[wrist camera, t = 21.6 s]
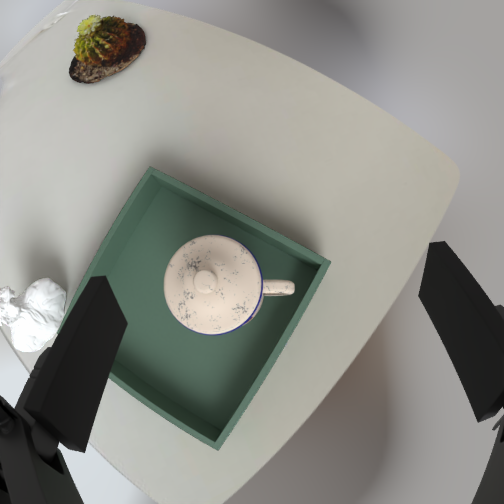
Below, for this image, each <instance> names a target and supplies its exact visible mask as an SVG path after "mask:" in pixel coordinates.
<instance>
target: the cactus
mask: <svg viewBox="0 0 504 504" xmlns="http://www.w3.org/2000/svg"><path fill="white" fill-rule="evenodd" d="M114 16H115V15H114ZM114 16H113V17H110V16H108V17H107V18H106V17H105V18H104V17H103V18H102V20H101V18H100V16H98V15H97V16H96V15H91V16H89V18H87V20H86V19H85V20H82V23H80V25H79V26H78V30H77V32H80V33H79V35H78V37H79V38H77V39H76V40H77V41H76V43H75V45H74V46H75V48H74V50H73V51H74V52H75V54H76V55H75V56H74V58H73V60H72V62H71V66H70V68H69V74H70V77H71V78H72V79H73V80H74V81H77V82H79V83H81V82H84V83H86V84H87V83H88V84H89V83H94V82H99V81H100V80H101V79H103V78H105V77H107V76H111V75H113V74H115V73H117V72H119V71H121V70H123V69H124V68H125V67H127V66H128V65H129V64H130V63H131V62H132V61H134V60H135V59H136V58H137V57H138V55H139V54H140V53H141V50H142V49H144V45H145V44H146V39H145V33H144V31H143V30H142V28H141V27H139V26H138V25H137V24H136V25H135V24H133V23H126V22H124V19H122V20H121V18H119V17H118V18H117V17H114Z"/></svg>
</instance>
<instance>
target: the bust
mask: <svg viewBox="0 0 504 504" xmlns="http://www.w3.org/2000/svg"><path fill="white" fill-rule="evenodd" d="M14 292H15V291H13V290H11V289H10V287H9V286H7V287H4V288H1V289H0V326H2V322H3V323H5V324H6V325H7V326H10V327H11V338H12V343H13V345H14V346H15V348H16V349H17V350H21V351H22V352H27V351H28V352H35V351H37V350H39V349H41V348H42V347H43V345H44V344H45V343H46V342H47V341H48V340H50V339H51V338H53V337H54V335H55V333H56V332H57V330H58V329H59V327H60V324H61V320H62V319H63V317H64V305H65V300H66V292H65V291H64V290H63V289H62V288H61V287H60V286H59V285H58V284H57V283H55V282H53V281H52V280H51V279H50V278H41V279H39V280H37V281H35V282H33V283H32V284H31V285H30V286H28V288H27V289H25V291H24V292H23V293H22V294H20V295H19V296H18V297H17V298H13V297H14Z"/></svg>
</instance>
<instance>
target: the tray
mask: <svg viewBox="0 0 504 504" xmlns="http://www.w3.org/2000/svg"><path fill="white" fill-rule="evenodd" d="M205 235H223V236H227V237H230V238H233V239H235V240H237V241H239V242H240V243H242V244H243V245H245V246H246V247H247V248H248V249H249V250H250V251H251V252H252V254H253V255H254V256H255V258H256V260H257V261H258V264H259V266H260V269H261V272H262V277H263V280H288V281H292V282H293V283H294V286H295V290H294V293H293V294H290V295H283V296H264V298H263V302H262V305H261V307H260V309H259V311H258V313H257V314H256V315H255V317H254V318H253V319H252V320H250V321H249V322H248V323H246V324H245V325H243V326H241V327H240V328H238V329H236V330H234V331H232V332H230V333H227V334H222V335H203V334H199V333H196V332H194V331H191V330H190V329H188V328H186V327H185V326H183V325H182V324H181V323H180V322H179V321H178V320H177V319H176V318H175V317H174V316H173V314H172V313H171V311H170V309H169V307H168V305H167V302H166V299H165V294H164V276H165V272H166V269H167V266H168V264H169V262H170V260H171V258H172V257H173V255H174V254H175V253H176V252H177V251H178V249H180V248H181V247H182V246H183V245H184V244H186V243H187V242H189V241H191V240H193V239H195V238H198V237H201V236H205ZM330 264H331V261H329V260H327V259H326V258H325V259H324V257H322V256H320V255H318V254H316V253H315V252H313V251H311V250H309V249H307V248H305V247H304V246H302V245H300V244H298V243H296V242H294V241H293V240H291V239H289V238H287V237H285V236H283V235H281V234H280V233H278V232H276V231H274V230H272V229H270V228H268V227H266V226H265V225H263V224H261V223H259V222H257V221H255V220H253V219H251V218H250V217H248V216H246V215H244V214H242V213H240V212H238V211H236V210H234V209H232V208H231V207H229V206H227V205H225V204H223V203H221V202H219V201H217V200H215V199H213V198H211V197H209V196H207V195H205V194H204V193H202V192H200V191H198V190H196V189H194V188H192V187H190V186H188V185H186V184H184V183H182V182H180V181H178V180H176V179H174V178H172V177H170V176H168V175H166V174H164V173H162V172H160V171H158V170H156V169H154V168H152V167H149V168H148V170H147V171H146V173H145V174H144V176H143V177H142V179H141V180H140V182H139V183H138V185H137V186H136V188H135V190H134V191H133V193H132V194H131V196H130V197H129V199H128V201H127V202H126V204H125V205H124V207H123V209H122V210H121V212H120V214H119V215H118V217H117V219H116V220H115V222H114V224H113V225H112V227H111V229H110V230H109V232H108V234H107V236H106V237H105V239H104V241H103V243H102V244H101V246H100V248H99V250H98V252H97V253H96V255H95V257H94V259H93V261H92V262H91V264H90V266H89V268H88V270H87V272H86V274H85V276H84V278H83V280H82V282H81V283H80V285H79V287H78V289H77V291H76V293H75V295H74V297H73V300H72V302H71V304H70V306H69V308H68V310H67V312H66V314H65V316H64V318H63V321H62V323H61V325H60V327H59V329H58V332H57V334H59V332H60V330H61V328H62V326H63V324H64V323H65V321H66V319H67V317H68V315H69V314H70V312H71V310H72V308H73V306H74V305H75V303H76V301H77V300H78V298H79V296H80V294H81V293H82V291H83V289H84V288H85V286H86V284H87V283H88V281H89V279H90V278H91V277H94V276H105V275H106V277H107V279H108V281H109V284H110V286H111V288H112V290H113V293H114V295H115V297H116V299H117V301H118V303H119V306H120V308H121V310H122V312H123V314H124V316H125V318H126V320H127V322H128V325H127V327H126V330H125V333H124V335H123V338H122V341H121V343H120V346H119V349H118V352H117V354H116V357H115V360H114V363H113V365H112V368H111V371H110V374H109V377H108V378H109V379H111V380H112V381H113V382H115V383H116V384H117V385H118V386H120V387H121V388H122V389H124V390H125V391H126V392H128V393H129V394H130V395H132V396H133V397H135V398H136V399H137V400H139V401H140V402H141V403H143V404H144V405H146V406H147V407H149V408H150V409H151V410H153V411H154V412H156V413H157V414H159V415H160V416H162V417H163V418H165V419H166V420H168V421H169V422H171V423H172V424H174V425H176V426H177V427H179V428H180V429H182V430H184V431H185V432H187V433H188V434H190V435H192V436H193V437H195V438H197V439H198V440H200V441H202V442H203V443H205V444H207V445H209V446H210V447H212V448H214V449H216V450H219V449H220V448H221V446H222V445H223V443H224V442H225V440H226V439H227V437H228V436H229V434H230V433H231V431H232V430H233V428H234V427H235V425H236V424H237V422H238V421H239V419H240V418H241V416H242V415H243V413H244V411H245V410H246V408H247V407H248V405H249V404H250V402H251V401H252V399H253V397H254V396H255V394H256V393H257V391H258V389H259V388H260V386H261V385H262V383H263V381H264V380H265V378H266V377H267V375H268V373H269V372H270V370H271V368H272V367H273V365H274V363H275V362H276V360H277V358H278V357H279V355H280V353H281V352H282V350H283V348H284V347H285V345H286V343H287V341H288V340H289V338H290V336H291V335H292V333H293V331H294V329H295V328H296V326H297V324H298V322H299V321H300V319H301V317H302V315H303V314H304V312H305V310H306V308H307V306H308V305H309V303H310V301H311V299H312V297H313V296H314V294H315V292H316V290H317V288H318V286H319V284H320V283H321V281H322V279H323V277H324V275H325V273H326V271H327V270H328V268H329V266H330Z"/></svg>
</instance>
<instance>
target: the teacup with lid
mask: <svg viewBox="0 0 504 504" xmlns="http://www.w3.org/2000/svg"><path fill="white" fill-rule="evenodd" d="M294 290H295V286H294V283H293V282H292V281H288V280H263V277H262V272H261V269H260V266H259V264H258V261H257V260H256V258H255V256H254V255H253V254H252V252H251V251H250V250H249V249H248V248H247V247H246V246H245V245H243V244H242V243H240V242H239V241H237V240H235V239H233V238H230V237H227V236H223V235H205V236H201V237H198V238H195V239H193V240H191V241H189V242H187V243H186V244H184V245H183V246H182V247H181V248H180V249H178V251H177V252H176V253H175V254H174V255H173V257H172V258H171V260H170V262H169V264H168V266H167V269H166V272H165V276H164V294H165V299H166V302H167V305H168V307H169V309H170V311H171V313H172V314H173V316H174V317H175V318H176V319H177V320H178V321H179V322H180V323H181V324H182V325H183V326H185V327H186V328H188V329H190V330H191V331H194V332H196V333H199V334H203V335H222V334H227V333H230V332H232V331H234V330H236V329H238V328H240V327H241V326H243V325H245V324H246V323H248V322H249V321H250V320H252V319H253V318H254V317H255V315H256V314H257V313H258V311H259V309H260V307H261V305H262V302H263V298H264V296H283V295H290V294H293V293H294Z"/></svg>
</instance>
